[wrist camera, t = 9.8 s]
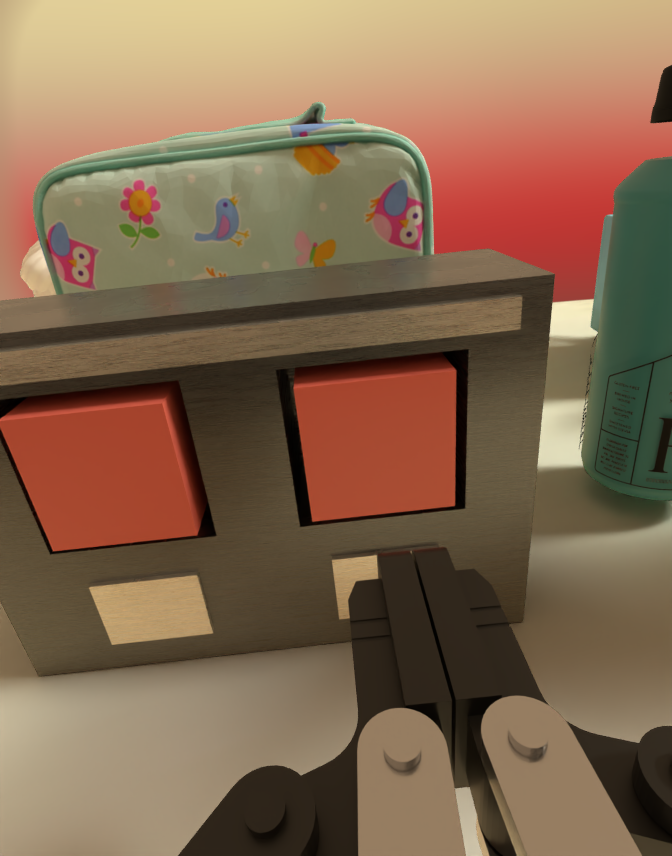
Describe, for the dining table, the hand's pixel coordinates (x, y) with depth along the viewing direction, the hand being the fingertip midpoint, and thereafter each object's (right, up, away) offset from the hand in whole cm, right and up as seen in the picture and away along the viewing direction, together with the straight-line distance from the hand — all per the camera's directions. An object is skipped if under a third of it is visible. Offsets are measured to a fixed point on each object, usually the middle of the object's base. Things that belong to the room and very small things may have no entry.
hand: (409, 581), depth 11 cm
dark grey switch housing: (-4, -4, +13) cm, 14 cm away
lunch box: (-6, +4, +31) cm, 32 cm away
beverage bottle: (+15, 0, +17) cm, 23 cm away
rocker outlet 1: (-9, 0, +9) cm, 13 cm away
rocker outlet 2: (0, +1, +9) cm, 9 cm away
